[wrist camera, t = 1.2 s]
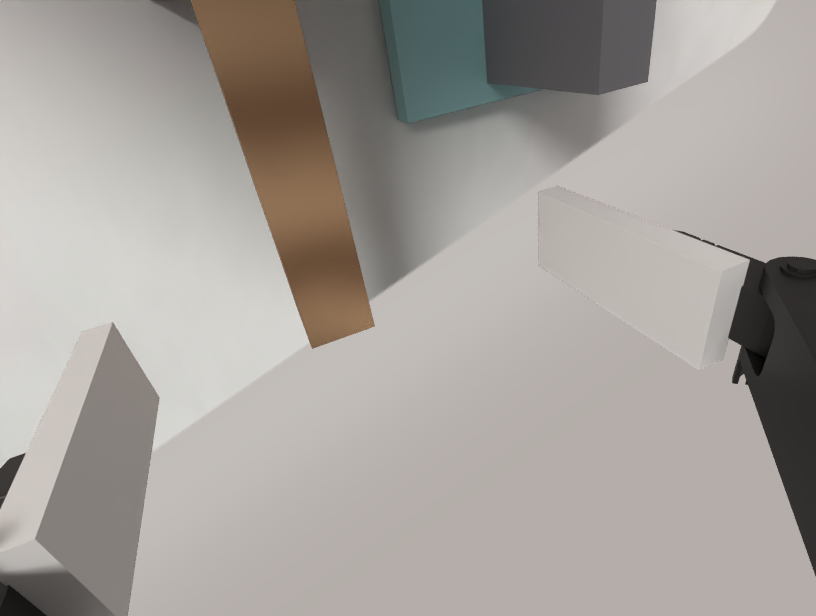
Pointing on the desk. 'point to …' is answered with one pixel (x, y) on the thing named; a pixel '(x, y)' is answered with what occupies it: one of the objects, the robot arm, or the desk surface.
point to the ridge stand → (511, 49)
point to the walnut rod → (288, 157)
